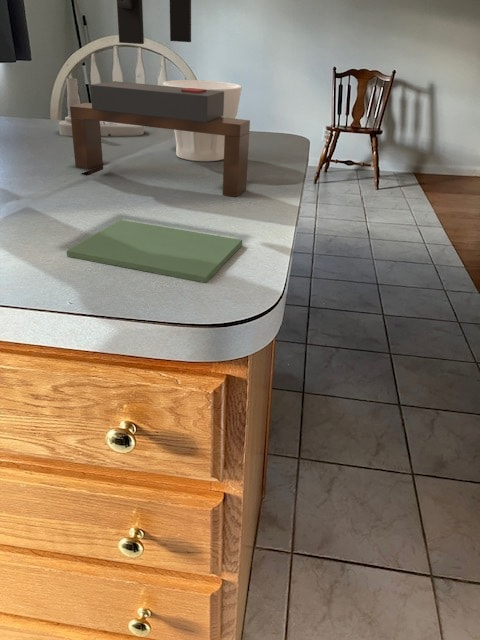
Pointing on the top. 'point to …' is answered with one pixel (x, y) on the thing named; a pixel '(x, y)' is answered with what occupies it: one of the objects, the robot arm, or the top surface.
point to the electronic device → (105, 127)
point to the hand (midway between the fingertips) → (158, 42)
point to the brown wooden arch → (233, 129)
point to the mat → (158, 250)
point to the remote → (158, 101)
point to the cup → (205, 144)
